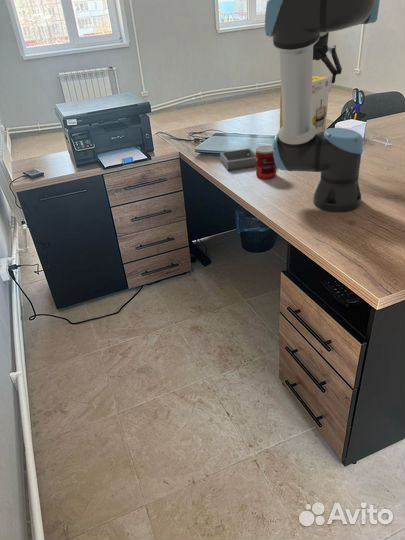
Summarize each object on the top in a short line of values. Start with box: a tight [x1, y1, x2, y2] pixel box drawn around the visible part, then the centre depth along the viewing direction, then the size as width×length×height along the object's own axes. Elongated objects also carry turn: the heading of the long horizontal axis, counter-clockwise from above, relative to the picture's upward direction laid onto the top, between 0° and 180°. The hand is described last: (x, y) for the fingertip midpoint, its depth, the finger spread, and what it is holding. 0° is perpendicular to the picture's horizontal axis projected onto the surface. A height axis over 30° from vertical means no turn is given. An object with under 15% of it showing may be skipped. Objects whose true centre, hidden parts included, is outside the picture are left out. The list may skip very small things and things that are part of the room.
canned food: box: [255, 145, 277, 180], centre depth 156 cm, size 8×8×11 cm
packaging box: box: [279, 75, 330, 134], centre depth 197 cm, size 16×16×25 cm
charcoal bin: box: [219, 147, 256, 172], centre depth 172 cm, size 14×14×4 cm
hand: (311, 89), depth 158 cm, fingers open, 13 cm apart
